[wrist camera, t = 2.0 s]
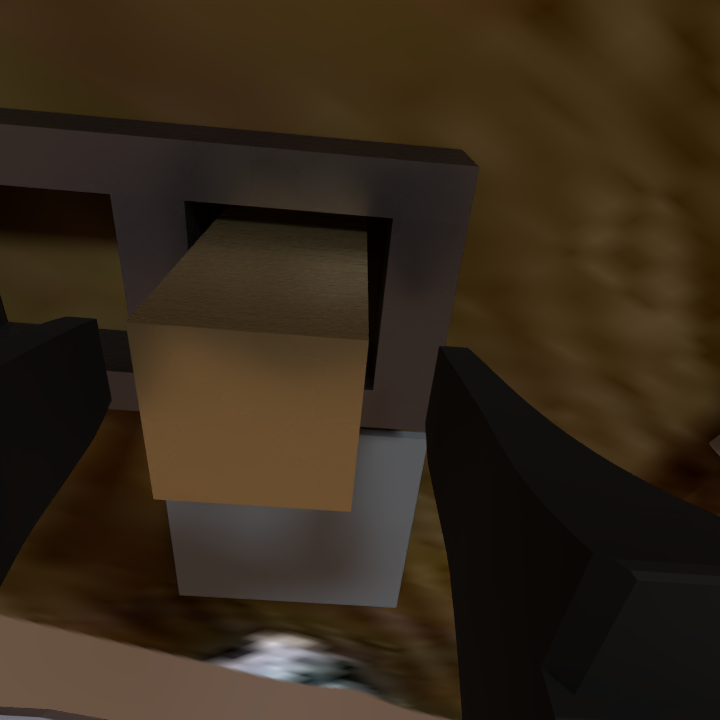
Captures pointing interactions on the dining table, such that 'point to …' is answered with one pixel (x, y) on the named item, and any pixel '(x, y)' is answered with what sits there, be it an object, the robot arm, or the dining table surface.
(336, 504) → the tan rectangular block
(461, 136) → the dining table surface
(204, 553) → the mat
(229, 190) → the double cubby frame
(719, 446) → the grey rounded block
